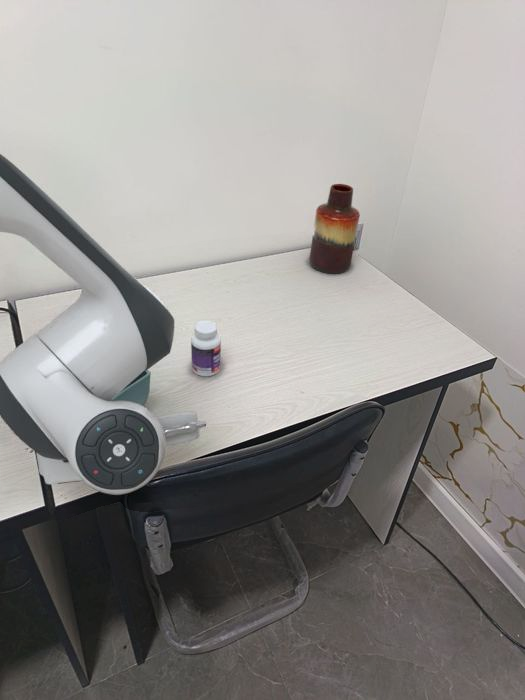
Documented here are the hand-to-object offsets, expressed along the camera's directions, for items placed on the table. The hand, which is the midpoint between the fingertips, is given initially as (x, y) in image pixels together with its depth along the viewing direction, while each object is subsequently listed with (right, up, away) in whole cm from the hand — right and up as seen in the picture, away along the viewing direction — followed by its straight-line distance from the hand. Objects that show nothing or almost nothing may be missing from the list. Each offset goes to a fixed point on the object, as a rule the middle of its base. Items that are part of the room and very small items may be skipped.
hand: (121, 436), depth 70 cm
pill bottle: (+9, +9, +24) cm, 27 cm away
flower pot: (-4, +1, +13) cm, 14 cm away
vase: (+38, +35, +60) cm, 79 cm away
